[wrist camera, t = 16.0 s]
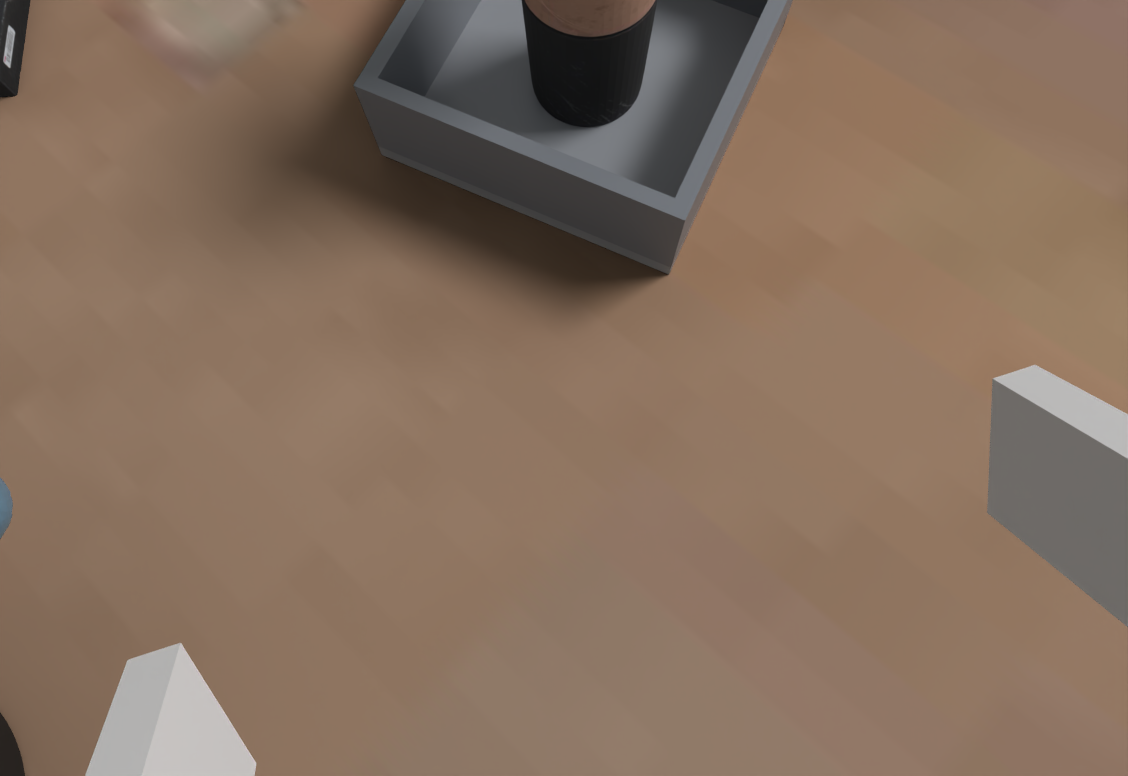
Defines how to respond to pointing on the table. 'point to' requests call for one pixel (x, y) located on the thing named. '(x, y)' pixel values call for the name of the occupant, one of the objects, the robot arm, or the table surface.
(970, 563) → the table surface
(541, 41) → the travel mug
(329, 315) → the table surface
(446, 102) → the bin
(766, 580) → the table surface
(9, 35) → the disk drive
